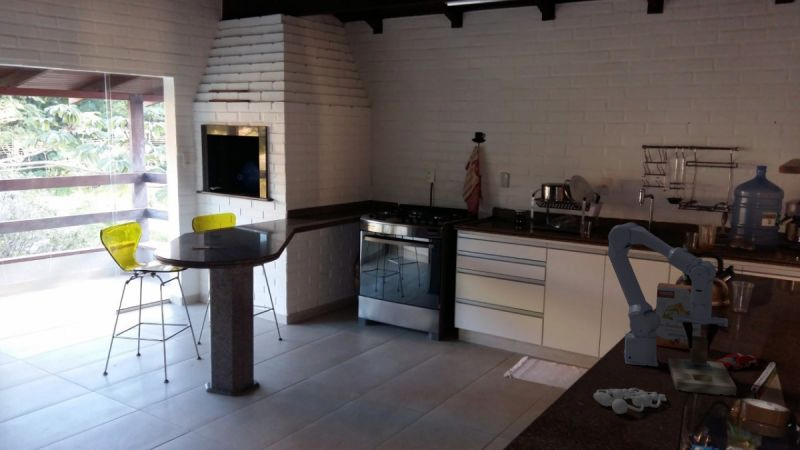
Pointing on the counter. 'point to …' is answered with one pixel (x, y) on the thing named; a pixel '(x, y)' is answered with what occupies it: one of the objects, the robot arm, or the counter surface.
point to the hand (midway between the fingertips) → (698, 348)
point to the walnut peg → (699, 350)
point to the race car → (738, 361)
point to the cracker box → (673, 303)
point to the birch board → (701, 377)
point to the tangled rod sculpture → (621, 405)
